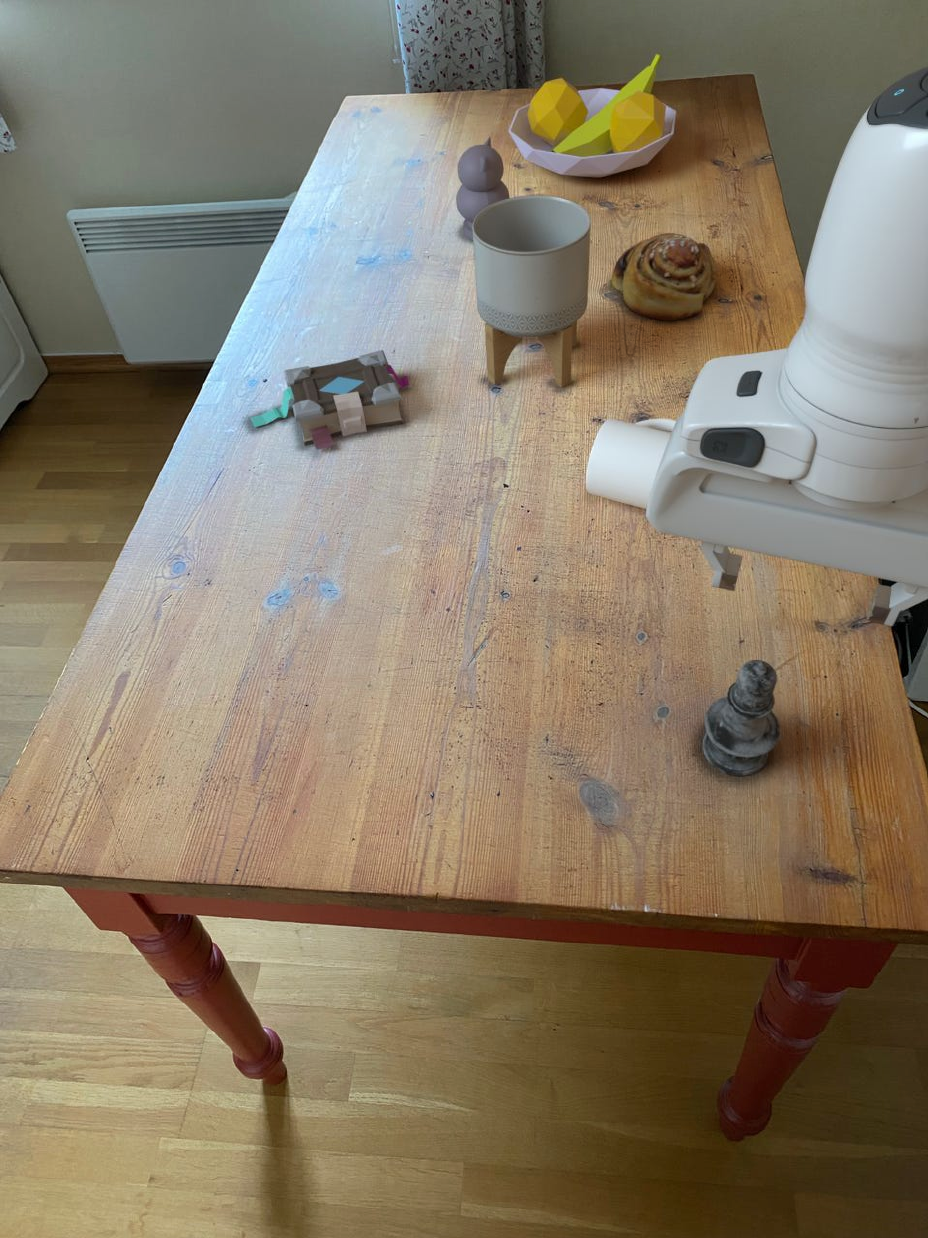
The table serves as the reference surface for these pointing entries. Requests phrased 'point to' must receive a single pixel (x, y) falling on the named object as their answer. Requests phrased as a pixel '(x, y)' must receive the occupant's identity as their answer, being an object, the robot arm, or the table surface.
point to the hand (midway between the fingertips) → (800, 598)
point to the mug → (627, 459)
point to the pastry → (666, 276)
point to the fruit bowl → (593, 127)
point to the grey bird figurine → (479, 183)
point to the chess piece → (743, 722)
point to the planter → (531, 277)
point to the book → (340, 398)
